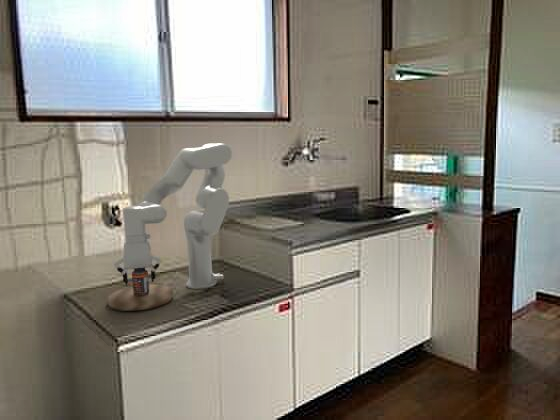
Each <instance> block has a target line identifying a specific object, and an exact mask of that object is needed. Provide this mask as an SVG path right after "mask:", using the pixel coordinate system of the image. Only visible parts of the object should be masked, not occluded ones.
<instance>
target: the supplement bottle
mask: <svg viewBox="0 0 560 420" xmlns="http://www.w3.org/2000/svg"><path fill="white" fill-rule="evenodd" d="M148 271H149V270H147V269H146V268H137V269H133V271H132V272H131V281H132V286H133V294H134V295H135V296H144V295H147V294H148V293H149V284H150V282H149V273H148Z"/></svg>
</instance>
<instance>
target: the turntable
mask: <svg viewBox="0 0 560 420" xmlns="http://www.w3.org/2000/svg"><path fill="white" fill-rule="evenodd" d="M173 297H174V291H173V288H172V287H170V286H168V285H163V284H158V283H157V284H156V283H154V284H150V283H149V293H148V294H147V295H144V296H135V295H134V294H133V285H132V286H127V287H124V288H122V289H121V288H120V289H118V290H116V291H115V292H112V293H111V294H109V296H108V297H107V305H108V307H109V308H110V309H112V310H117V311H123V312H126V311H127V312H135V311H143V310H149V309H154V308H157V307H161V306H163V305H165V304H167V303H169V302H170V301H171V300H172V299H173Z"/></svg>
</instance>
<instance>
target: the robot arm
mask: <svg viewBox="0 0 560 420" xmlns="http://www.w3.org/2000/svg"><path fill="white" fill-rule="evenodd" d="M232 155H233V151H232V149H231V147H230V146H229V145H228V144H226V143H221V142H220V143H206V144H203V145H202V146H201V147H187V148H186V147H185V148H182V149H181V150H179V152H178V153H177V155H176V157H175V158H174V160H173V161H172V162H171V164H170V166H169V167H168V169H167V170H166V172H165V173H164V175H163V176H162V177H161V178H160V179H159V180H158V181H157V182H156V183H154V184H153V185H152V186H151V187H150V188H149V189H148V190H147V191H146V193H145V194H144V196H143V197H142V198H141V200H140V201H139V204H138V205H129V206H125V207H124V208H123V209H122V210H123V211H122V212H123V225H124V234H125V235H124V236H125V237H124V238H125V242H124V243H123V257H122V258H120V259H118V260H117V261H115V262H114V263H113V265H114V267H115V269H116V270H117V271H118V272H119V273H120V274H121V275H122V281H123V283H124V284H125V286H126V285H128V283H129V280H128V270H134V269H137V268H145V269H147V268H148V269H150V276H151V277H150V278H151V282H152V283H154V281H155V280H156V270H157V269H158V268H159V267H160V265H161V262H162V257H161V258H160V257H158V256H156V255H152V250H151V243H150V241H149V240H148V239H151V234H148V233H147V230H146V229H147V228H146V225H147V224H148V225H153V224H156V225H157V224H160V223H162V222H164V221H165V220H166V219H167V216H168V213H167V209H166V207H164V206H163V205H161V203H162V202H163V201H164V200H165V199H166V198H168V197H169V196H170V195H173V194H175V193H177V192H178V191H181V189H183V187H184V186H185V184H186V183H187V181H188V180H189V177H190V176H191V174H192V173H193V171H194V170H197V171H198V170H199V171H201V170H204V173H203V178H202V181H201V183H200V185H199V189H198V191H197V193H196V197H195V203H196V205H197V206H198V207H200V208H201V209H204V211H203V210H198V209H197V210H196V209H195V210H191V211H189V212H187V213H186V215H185V216H184V217H183V229H184V233H185V236H186V245H187V262H188V274H189V277H188V278H189V280H188V281H187V282H186V283H185V285H186V287H187V288H189V289H194V290H202V289H209V288H212V287H214V286H215V285H216V284H217V280H223V279H224V278H225V277H224V274H222V273H221V274H220V273H214V272H213V264H212V249H211V244H212V243H211V239H210V237H213V236H215V235H216V234H217V233H218V232H219V231H220V228H221V226H222V224H223V221H224V219H225V216H226V213H227V212H228V211H227V210H228V208H229V205H230V198H229V197H230V196H229V194H228V192H227V190H226V189H224V188H223V184H224V181H225V177H226V176H225V175H226V174H225V168H224V165H226V164H228V163H229V162H230V161H231V160H232V157H233V156H232ZM153 261H156V263H155V265H153ZM121 264H123V267H124V268H122V267H121V266H120V265H121Z"/></svg>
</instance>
